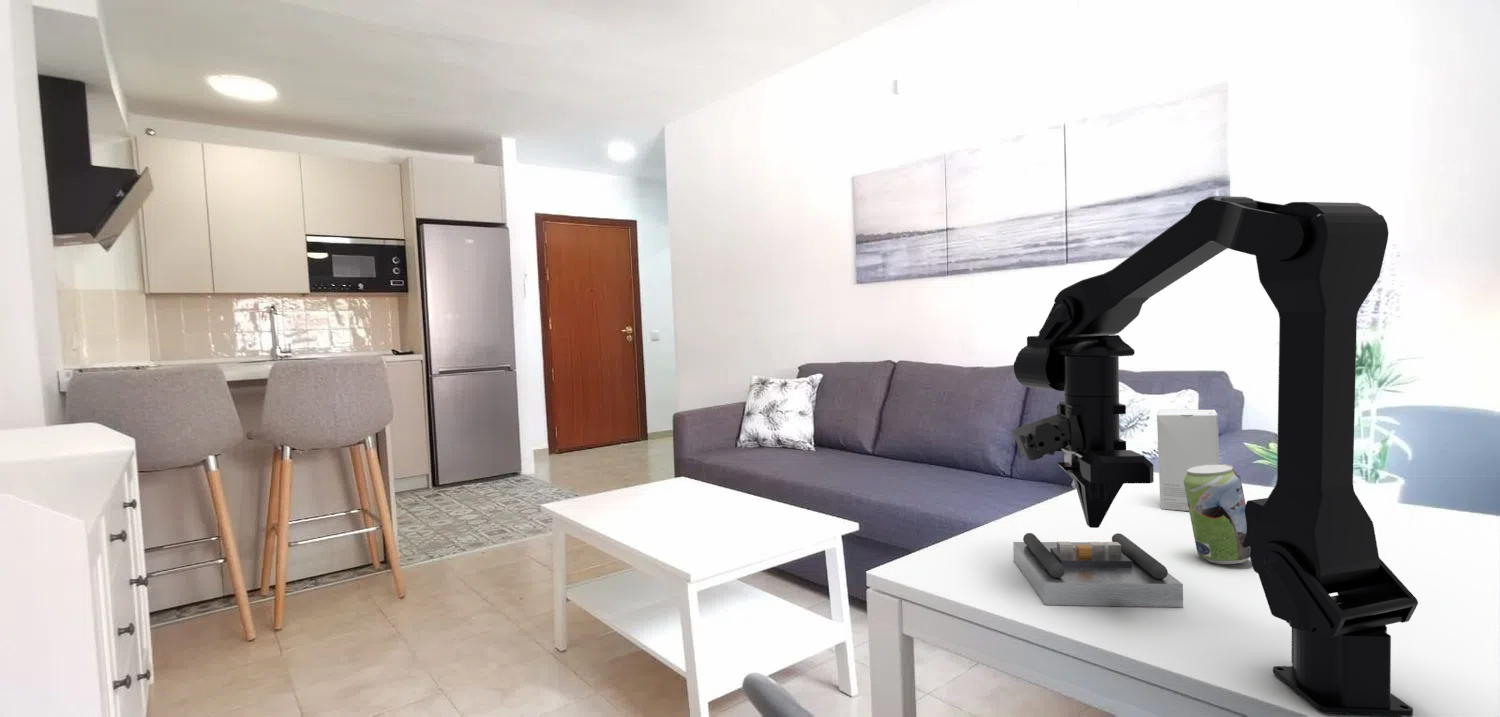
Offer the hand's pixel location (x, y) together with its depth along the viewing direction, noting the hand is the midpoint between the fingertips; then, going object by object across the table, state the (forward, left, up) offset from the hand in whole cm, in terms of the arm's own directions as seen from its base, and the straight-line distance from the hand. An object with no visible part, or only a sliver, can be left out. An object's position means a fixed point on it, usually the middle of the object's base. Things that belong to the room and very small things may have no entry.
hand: (1092, 526), depth 81 cm
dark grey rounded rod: (0, -5, -4) cm, 6 cm away
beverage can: (+8, -18, -7) cm, 20 cm away
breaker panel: (0, 0, -7) cm, 7 cm away
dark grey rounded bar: (0, +6, -4) cm, 7 cm away
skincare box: (+33, -26, -7) cm, 42 cm away
